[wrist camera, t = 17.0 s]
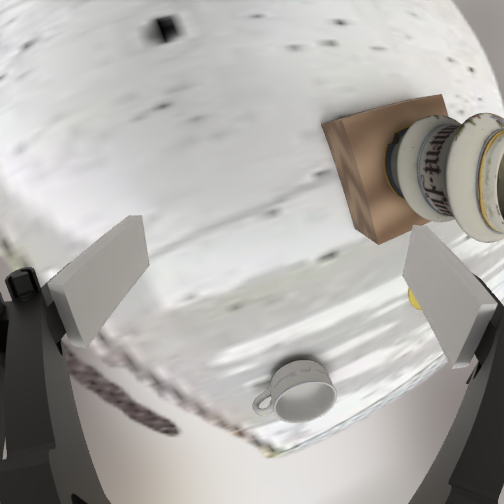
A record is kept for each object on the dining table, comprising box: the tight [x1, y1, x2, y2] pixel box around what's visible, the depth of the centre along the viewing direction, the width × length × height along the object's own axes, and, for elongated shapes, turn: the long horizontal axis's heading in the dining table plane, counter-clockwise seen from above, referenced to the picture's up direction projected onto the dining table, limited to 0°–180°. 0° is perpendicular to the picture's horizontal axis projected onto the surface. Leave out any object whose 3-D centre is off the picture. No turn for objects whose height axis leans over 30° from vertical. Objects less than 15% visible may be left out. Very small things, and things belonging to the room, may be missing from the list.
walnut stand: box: [321, 94, 448, 245], centre depth 37 cm, size 16×16×8 cm
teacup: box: [253, 360, 337, 423], centre depth 49 cm, size 14×11×8 cm
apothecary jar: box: [383, 113, 504, 243], centre depth 25 cm, size 12×12×18 cm
